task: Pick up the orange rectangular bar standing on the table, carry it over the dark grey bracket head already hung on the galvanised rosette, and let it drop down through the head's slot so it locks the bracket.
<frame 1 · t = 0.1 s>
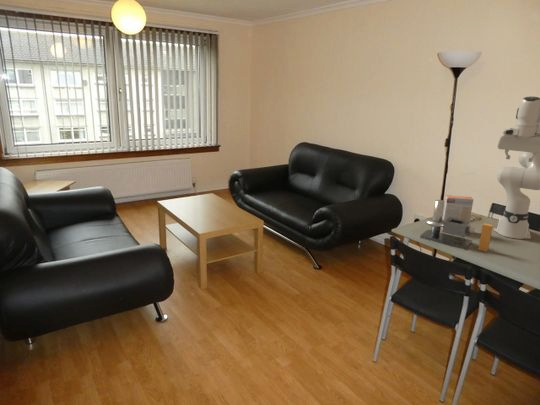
hand: (518, 160, 192), 48 cm above the table, fingers open, 8 cm apart
cracker box: (453, 231, 233), on the table
orange rectangular bar: (483, 249, 207), on the table
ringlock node: (445, 240, 218), on the table
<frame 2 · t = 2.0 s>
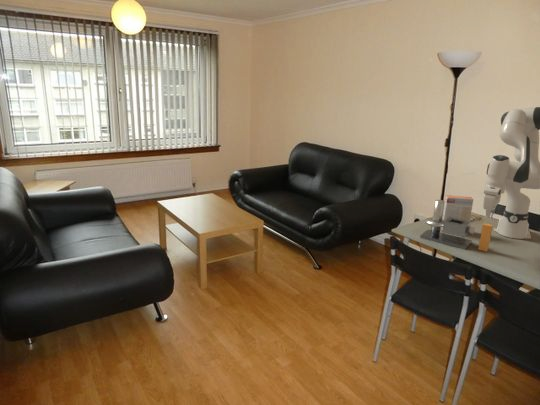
hand: (489, 214, 201), 20 cm above the table, fingers open, 8 cm apart
nothing on the table moved.
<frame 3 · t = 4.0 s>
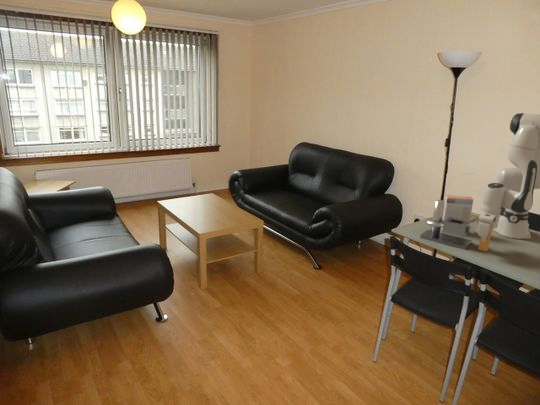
hand: (485, 239, 205), 6 cm above the table, fingers closed on orange rectangular bar, 3 cm apart
orange rectangular bar: (483, 249, 207), on the table, touching gripper
everything else where it was.
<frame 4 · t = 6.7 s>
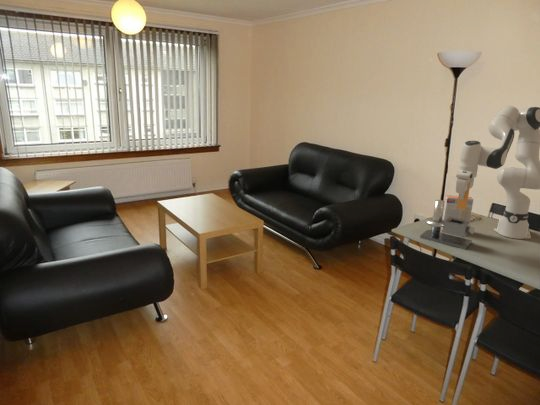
hand: (462, 198, 207), 25 cm above the table, fingers closed on orange rectangular bar, 3 cm apart
orange rectangular bar: (461, 208, 209), point 20 cm above the table, touching gripper
everything else where it was.
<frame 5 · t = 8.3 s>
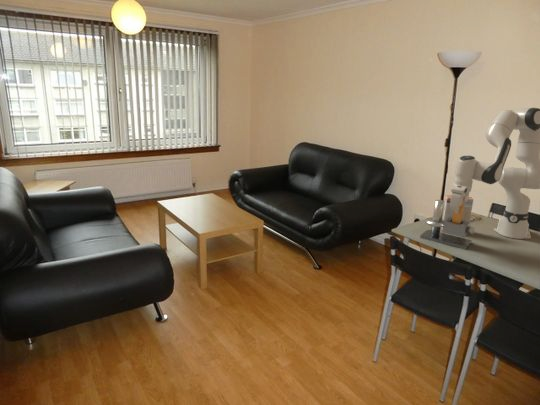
hand: (458, 211, 211), 17 cm above the table, fingers closed on orange rectangular bar, 3 cm apart
orange rectangular bar: (456, 221, 212), point 12 cm above the table, touching gripper
everything else where it was.
when the fingers open (14 cm above the table, at t = 9.7 s): orange rectangular bar drops 6 cm, resting on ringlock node.
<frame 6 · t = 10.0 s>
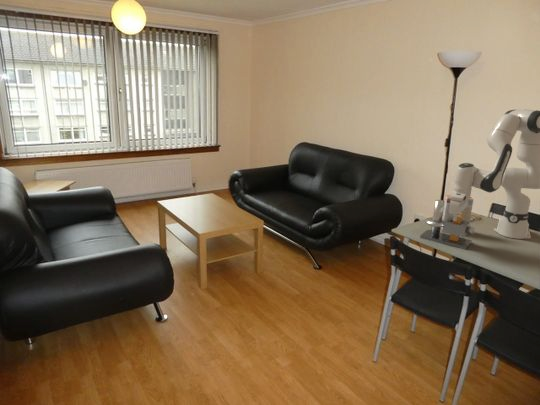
hand: (457, 218, 212), 14 cm above the table, fingers open, 6 cm apart
orange rectangular bar: (453, 239, 215), point 2 cm above the table, touching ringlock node
everything else where it was.
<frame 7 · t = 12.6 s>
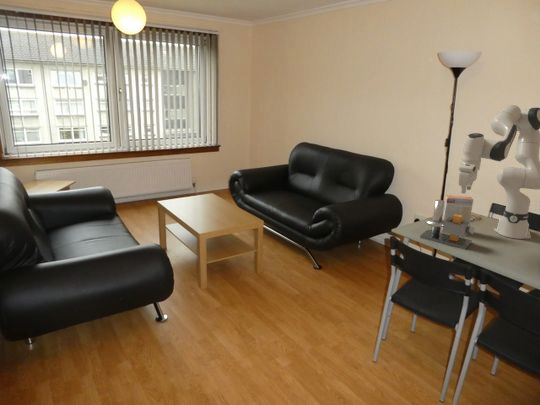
hand: (466, 191, 206), 29 cm above the table, fingers open, 8 cm apart
nothing on the table moved.
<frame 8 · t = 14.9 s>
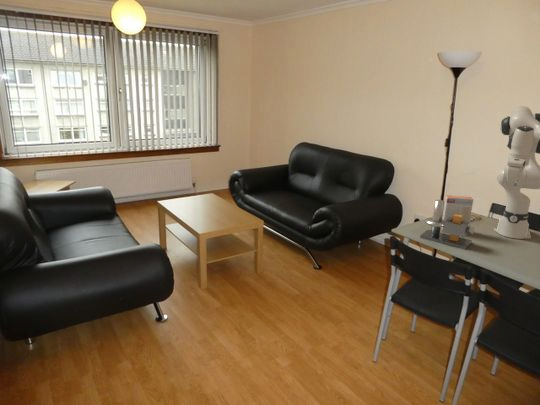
hand: (512, 188, 195), 34 cm above the table, fingers open, 8 cm apart
nothing on the table moved.
at the end: orange rectangular bar 0.1 cm from the target spot on the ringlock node, point 1.5 cm above the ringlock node's base; orange rectangular bar tilted 0°; the gripper is holding nothing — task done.
